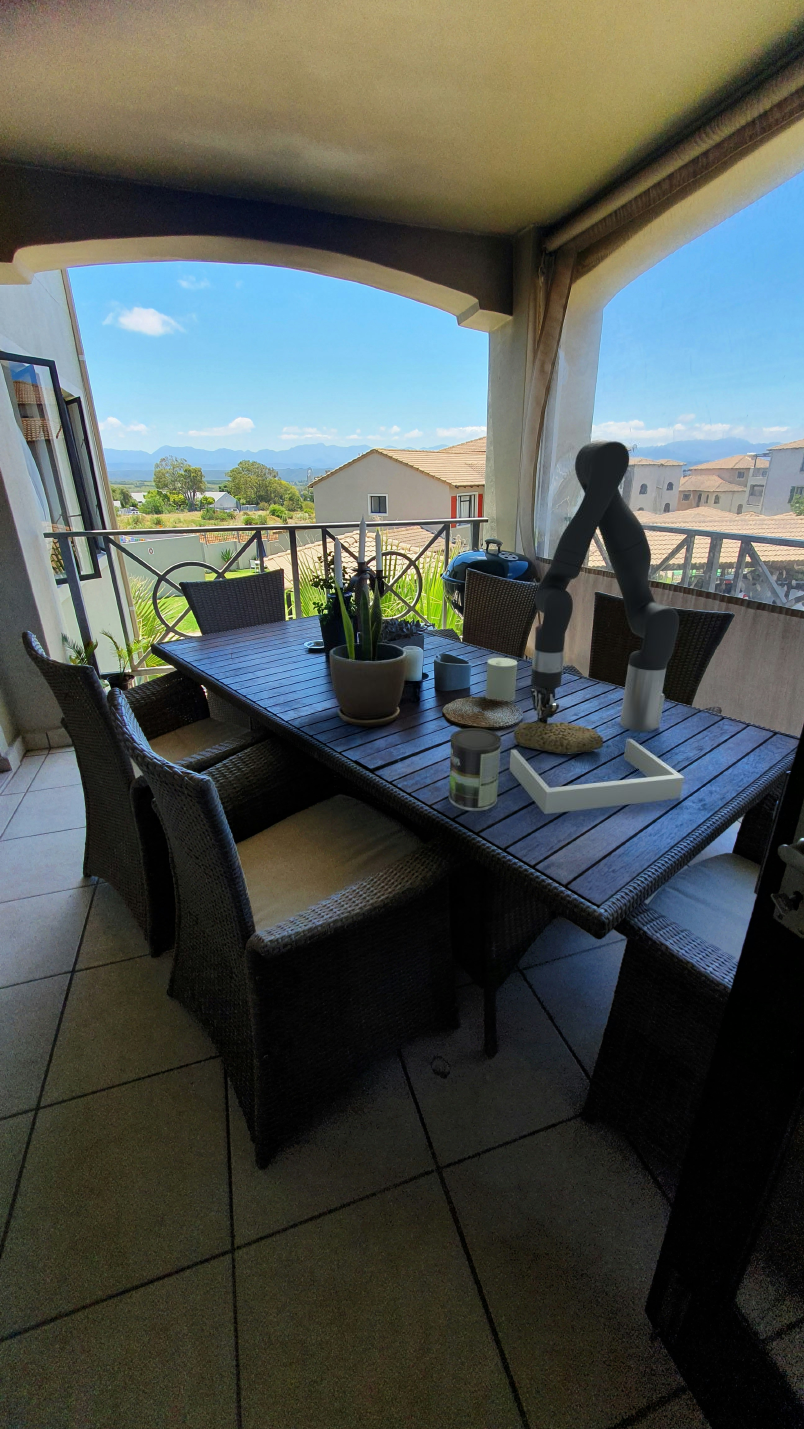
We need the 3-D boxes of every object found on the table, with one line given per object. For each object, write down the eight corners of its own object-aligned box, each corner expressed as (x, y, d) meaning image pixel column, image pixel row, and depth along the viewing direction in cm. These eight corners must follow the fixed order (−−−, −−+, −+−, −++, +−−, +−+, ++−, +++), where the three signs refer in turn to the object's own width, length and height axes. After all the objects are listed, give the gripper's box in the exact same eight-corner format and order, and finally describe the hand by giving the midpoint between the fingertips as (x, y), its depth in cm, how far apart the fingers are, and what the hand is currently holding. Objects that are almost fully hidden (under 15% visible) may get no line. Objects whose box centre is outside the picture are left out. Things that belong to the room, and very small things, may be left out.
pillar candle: (480, 698, 174) (481, 661, 169) (493, 690, 181) (495, 654, 176) (507, 704, 169) (509, 666, 164) (519, 695, 176) (522, 659, 171)
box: (628, 757, 135) (631, 738, 134) (680, 798, 118) (684, 777, 116) (509, 769, 130) (510, 750, 128) (544, 814, 112) (547, 792, 111)
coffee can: (453, 812, 113) (455, 750, 108) (445, 787, 123) (446, 728, 117) (502, 810, 114) (507, 747, 109) (491, 785, 123) (494, 726, 118)
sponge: (511, 754, 140) (590, 759, 128) (509, 723, 140) (589, 726, 128) (533, 745, 151) (608, 749, 139) (531, 716, 150) (607, 718, 138)
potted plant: (393, 699, 174) (391, 567, 159) (417, 725, 155) (417, 578, 140) (326, 707, 168) (318, 570, 152) (342, 735, 149) (334, 582, 133)
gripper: (573, 673, 136) (565, 738, 142) (550, 658, 148) (544, 719, 154) (544, 675, 134) (538, 741, 141) (523, 660, 146) (518, 721, 153)
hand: (541, 729), depth 148 cm, fingers closed
